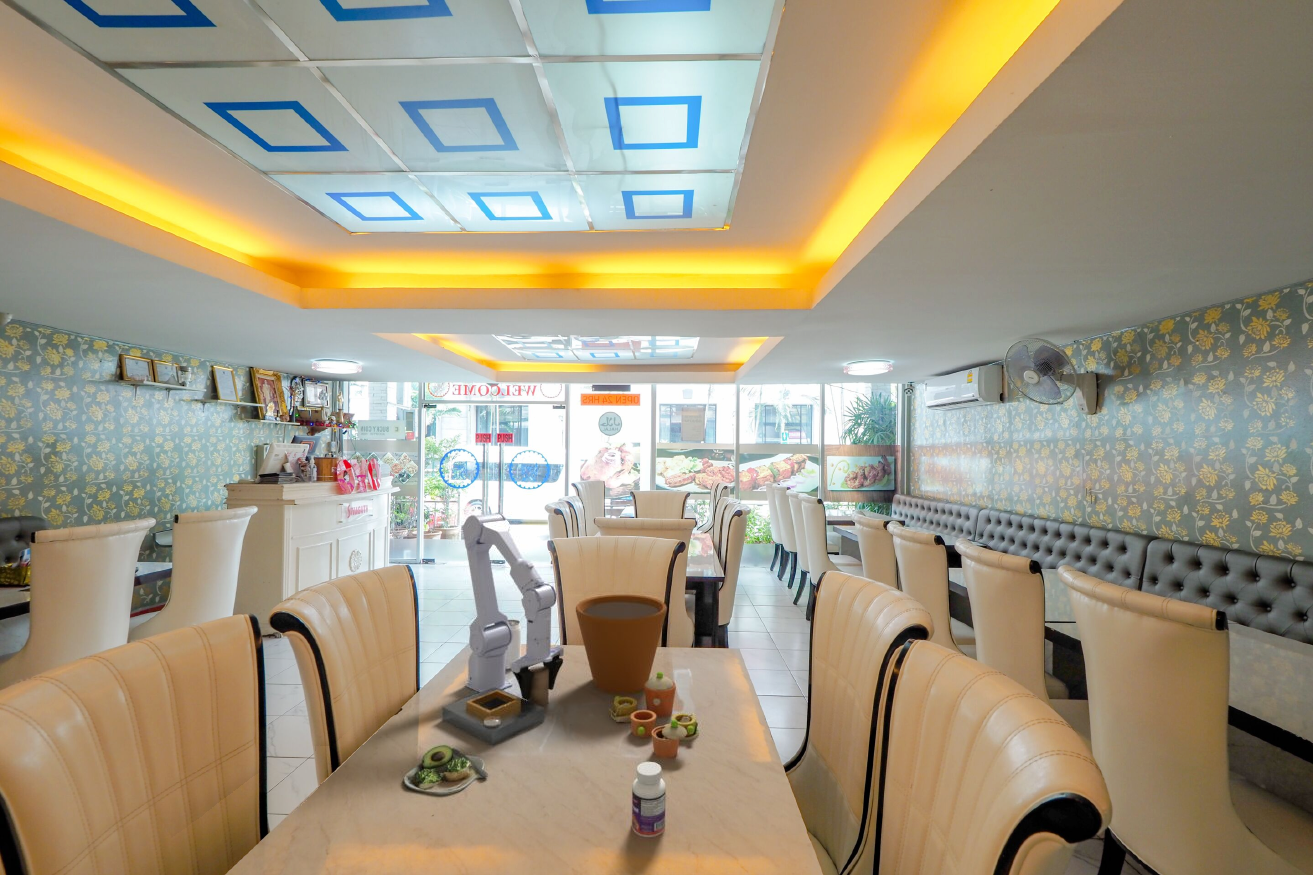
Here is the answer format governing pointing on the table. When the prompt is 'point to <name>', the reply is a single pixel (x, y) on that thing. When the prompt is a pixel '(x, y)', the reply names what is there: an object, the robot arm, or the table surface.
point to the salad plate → (444, 770)
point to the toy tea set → (658, 705)
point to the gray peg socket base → (493, 715)
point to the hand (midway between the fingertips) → (537, 693)
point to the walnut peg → (540, 686)
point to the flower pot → (621, 639)
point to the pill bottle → (648, 800)
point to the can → (513, 644)
